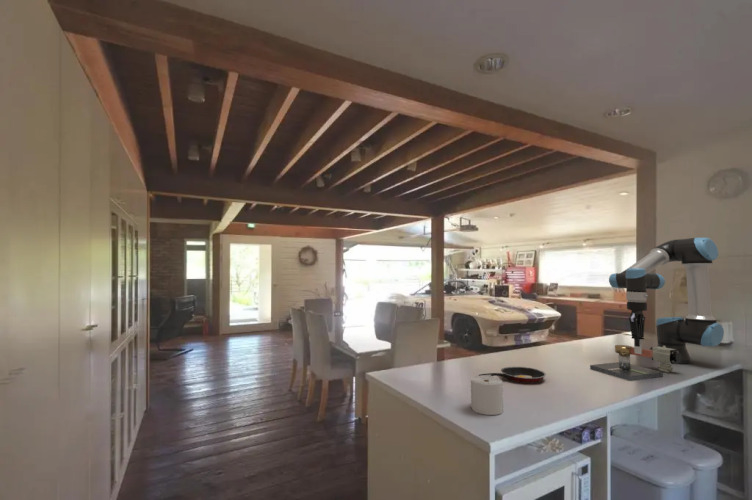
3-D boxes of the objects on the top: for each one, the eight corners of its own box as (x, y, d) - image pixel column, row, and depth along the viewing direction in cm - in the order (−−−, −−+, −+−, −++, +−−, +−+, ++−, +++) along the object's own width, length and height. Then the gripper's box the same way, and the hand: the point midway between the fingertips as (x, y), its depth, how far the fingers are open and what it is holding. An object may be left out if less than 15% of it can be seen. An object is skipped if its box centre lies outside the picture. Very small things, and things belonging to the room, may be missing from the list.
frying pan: (556, 383, 152) (556, 374, 152) (492, 390, 143) (491, 381, 143) (526, 371, 170) (526, 363, 170) (467, 377, 161) (467, 369, 161)
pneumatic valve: (655, 367, 174) (653, 343, 175) (683, 374, 163) (681, 347, 164) (648, 369, 172) (646, 344, 173) (675, 375, 161) (673, 348, 162)
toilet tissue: (478, 416, 116) (477, 385, 117) (465, 403, 128) (464, 375, 129) (509, 414, 117) (508, 384, 118) (493, 402, 129) (492, 374, 130)
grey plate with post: (621, 365, 178) (620, 347, 179) (663, 376, 159) (661, 356, 160) (590, 369, 172) (589, 350, 173) (629, 380, 153) (628, 359, 154)
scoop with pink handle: (612, 352, 167) (612, 346, 168) (619, 350, 171) (618, 344, 171) (648, 358, 155) (648, 351, 156) (655, 356, 159) (654, 349, 159)
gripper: (641, 302, 156) (643, 356, 153) (651, 301, 163) (653, 353, 161) (621, 301, 162) (623, 353, 160) (632, 300, 169) (633, 350, 167)
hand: (638, 353), depth 160 cm, fingers closed
